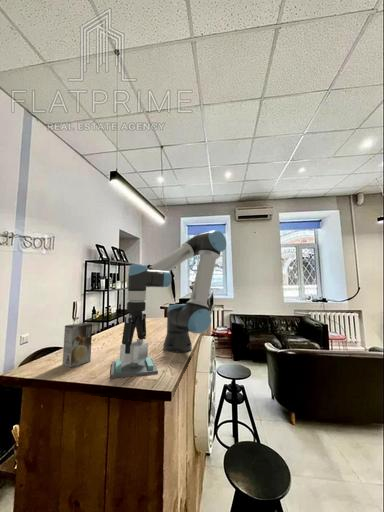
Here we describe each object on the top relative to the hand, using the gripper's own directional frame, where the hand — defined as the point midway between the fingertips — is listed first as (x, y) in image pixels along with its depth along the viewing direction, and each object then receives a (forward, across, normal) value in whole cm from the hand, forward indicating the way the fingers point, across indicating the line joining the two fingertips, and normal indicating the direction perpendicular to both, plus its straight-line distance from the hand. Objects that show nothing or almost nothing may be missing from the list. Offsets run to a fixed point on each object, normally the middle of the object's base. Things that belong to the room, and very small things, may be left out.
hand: (134, 358), depth 93 cm
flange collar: (0, 0, 0) cm, 0 cm away
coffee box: (+4, +2, -26) cm, 27 cm away
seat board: (+4, 0, 0) cm, 4 cm away
